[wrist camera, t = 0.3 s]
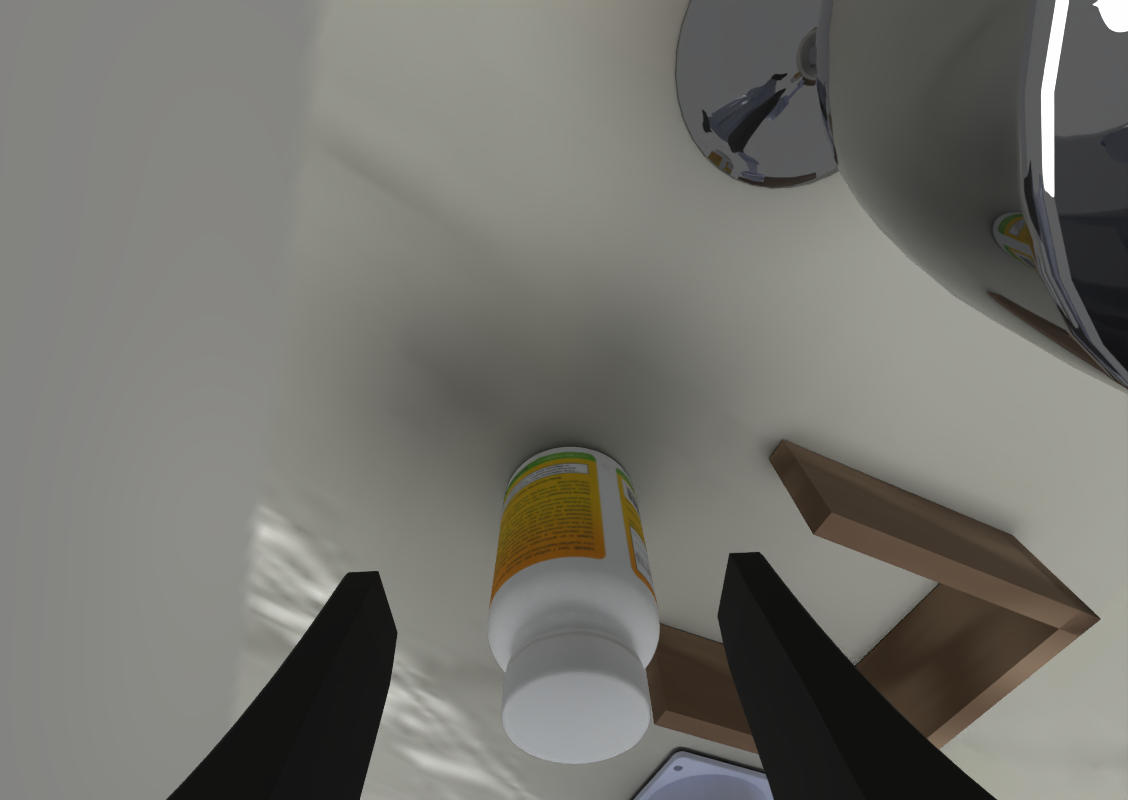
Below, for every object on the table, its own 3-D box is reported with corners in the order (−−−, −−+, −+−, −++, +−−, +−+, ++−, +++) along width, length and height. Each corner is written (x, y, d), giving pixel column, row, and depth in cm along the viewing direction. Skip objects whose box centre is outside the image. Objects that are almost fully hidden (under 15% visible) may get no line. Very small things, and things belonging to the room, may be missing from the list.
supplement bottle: (481, 514, 24) (438, 743, 15) (547, 419, 22) (539, 623, 13) (589, 564, 25) (604, 801, 17) (660, 479, 23) (720, 700, 15)
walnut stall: (843, 698, 30) (887, 790, 26) (640, 634, 27) (654, 724, 23) (1013, 535, 25) (1101, 619, 21) (783, 439, 22) (831, 512, 18)
